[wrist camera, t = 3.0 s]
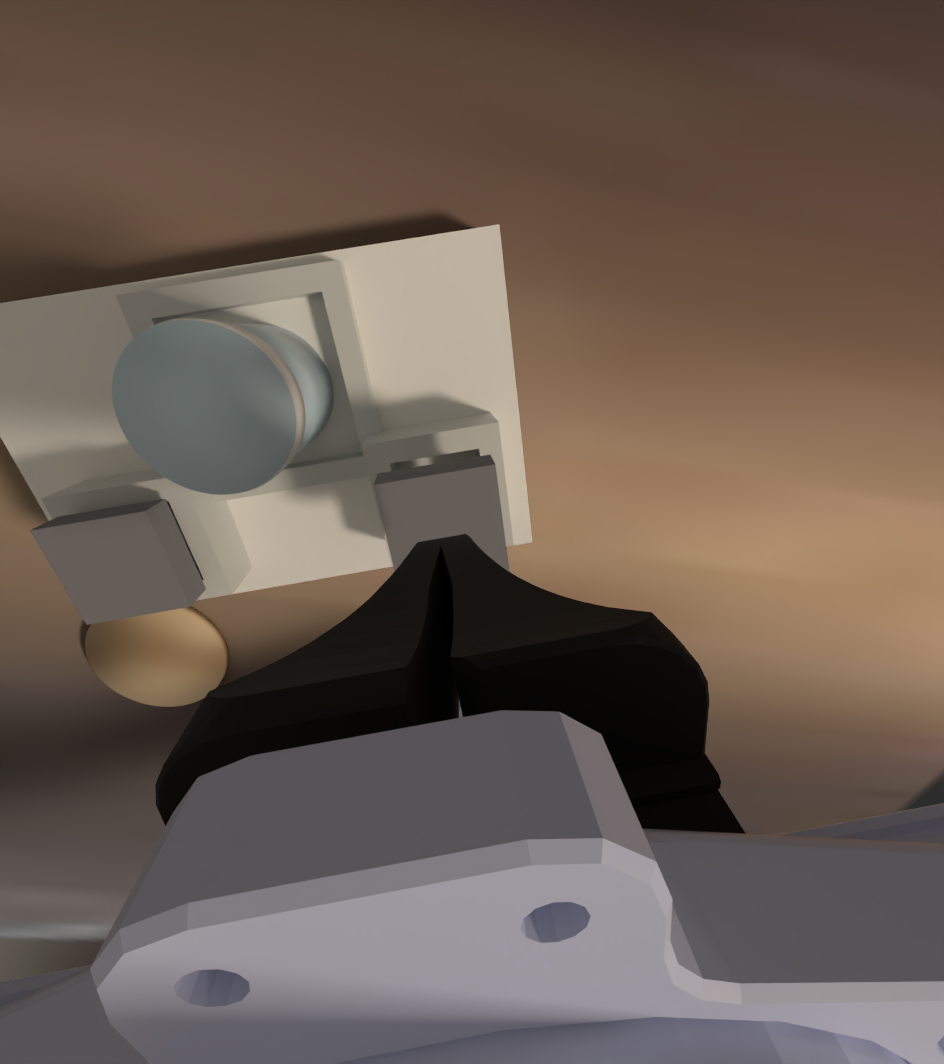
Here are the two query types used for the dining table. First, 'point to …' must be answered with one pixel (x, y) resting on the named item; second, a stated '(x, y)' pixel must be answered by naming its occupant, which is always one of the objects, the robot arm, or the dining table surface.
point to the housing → (353, 427)
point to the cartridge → (220, 401)
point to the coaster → (159, 656)
